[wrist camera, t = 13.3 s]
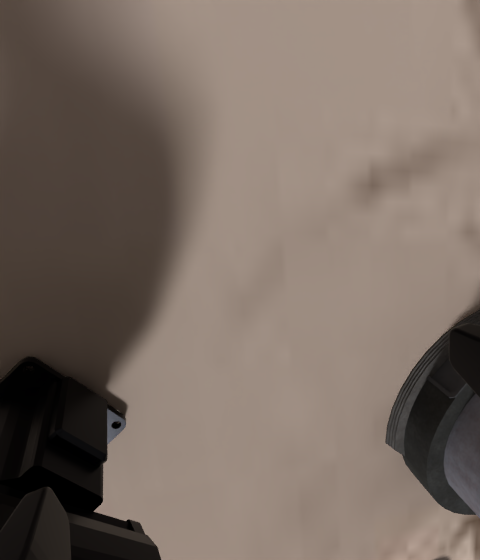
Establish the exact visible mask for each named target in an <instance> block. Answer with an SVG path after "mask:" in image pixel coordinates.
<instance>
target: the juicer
mask: <svg viewBox="0 0 480 560" xmlns="http://www.w3.org/2000/svg"><path fill="white" fill-rule="evenodd" d="M466 323H470V324H475V325H480V310H478V311H476V312H475V313H473V314H472V315H470V316H468V317H467V318H465V319H463V320H462V321H460V322H459V323H458V324H456V325H455V326H454V327H453V328H455V327H457V326H460V325H463V324H466ZM453 328H452V329H453ZM450 331H451V329H450V330H449V331H448V332H447V333H445V334H444V335H443V336H442V337H441V338H440V339H439V340H438V341H437V342H436V343H435V344H434V345H433V346H432V347H431V348H430V349H429V350H428V351H427V352H426V353H425V354H424V356H423V357H422V358H421V359H420V361H419V362H418V363H417V365H416V366H415V367H414V368H413V370H412V371H411V373H410V374H409V376H408V378H407V379H406V381H405V383H404V384H403V386H402V388H401V389H400V392H399V394H398V396H397V398H396V401H395V403H394V405H393V407H392V411H391V414H390V418H389V421H388V425H387V433H386V444H388V445H389V446H391V447H392V448H393V449H394V450H395V451H397V452H399V453H400V454H402V455H403V458H404V461H405V464H406V465H407V466H408V468H409V469H410V471H411V472H412V473H413V474H414V476H415V477H416V478H417V479H418V480H419V481H420V483H421V484H422V485H423V486H424V487H425V489H426V490H427V491H428V492H429V493H430V494H431V496H432V497H433V498H434V499H435V500H436V502H437V503H439V504H440V505H441V506H442V507H444V508H445V509H447V510H449V511H451V512H454V513H459V514H464V515H477V516H478V517H479V518H480V398H479V396H478V395H477V394H476V393H475V392H474V391H473V390H472V389H471V387H470V386H469V385H468V384H467V383H466V382H465V381H464V380H463V378H462V377H461V376H460V375H459V374H458V373H457V372H456V371H455V369H454V368H453V367H452V365H451V363H450V360H449V333H450Z"/></svg>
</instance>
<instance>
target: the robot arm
mask: <svg viewBox="0 0 480 560" xmlns="http://www.w3.org/2000/svg"><path fill="white" fill-rule="evenodd" d="M449 360H450V363H451V365H452V367H453V368H454V369H455V371H456V372H457V373H458V374H459V375H460V376H461V377H462V378H463V380H464V381H465V382H466V383H467V384H468V385H469V386H470V387H471V389H472V390H473V391H474V392H475V393H476V394H477V395H478V396H479V398H480V325H475V324H470V323H466V324H463V325H460V326H457V327H455V328H453V329H451V331H450V333H449ZM26 366H32V367H33V368H34V369H33V370H26V369H25V367H26ZM115 421H119V422H120V423H118V424H113V422H115ZM125 426H126V418H125V416H124V415H123V414H122V413H120V412H119V411H117V410H116V409H114V408H113V407H111V406H109V405H108V404H107V401H106V400H105V399H104V398H102V397H100V396H99V395H97V394H96V393H94V392H93V391H91V390H90V389H88V388H87V387H85V386H84V385H82V384H80V383H79V382H77V381H76V380H74V379H73V378H71V377H65V376H63V375H61V374H60V373H58V372H57V371H55V370H54V369H52V368H51V367H49V366H48V365H46V364H44V363H43V362H41V361H40V360H38V359H36V358H34V357H27V358H24V359H23V360H21V361H20V362H19V363H18V364H17V365H16V366H15V367H14V368H13V369H12V370H11V371H10V372H9V373H8V374H7V375H5V376H4V377H3V378H2V379H1V380H0V560H161V558H160V554H159V551H158V548H157V546H156V545H155V544H154V542H153V541H152V540H151V539H150V538H149V537H148V535H145V533H144V531H143V529H142V526H141V524H140V523H139V522H136V521H132V520H127V521H123V520H119V519H116V518H113V517H109V516H106V515H103V514H99V513H96V512H93V511H94V510H95V509H96V508H97V507H98V506H100V505H101V503H102V502H103V463H105V462H106V461H107V444H108V443H110V442H111V441H112V440H113V439H114V438H115V437H116V436H117V435H118V434H119V433H120V432H121V431H122V430H123V429H124V428H125Z"/></svg>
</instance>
